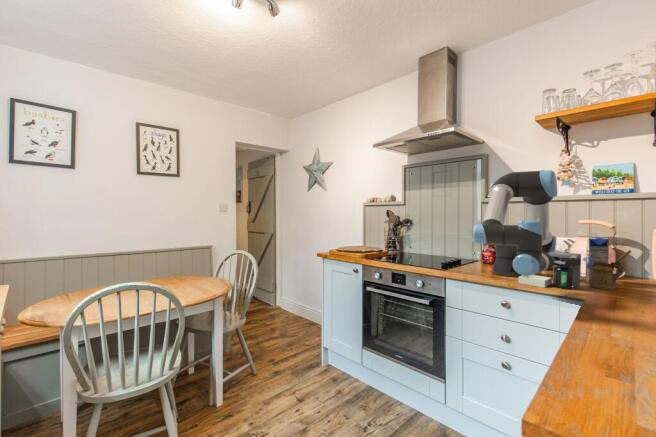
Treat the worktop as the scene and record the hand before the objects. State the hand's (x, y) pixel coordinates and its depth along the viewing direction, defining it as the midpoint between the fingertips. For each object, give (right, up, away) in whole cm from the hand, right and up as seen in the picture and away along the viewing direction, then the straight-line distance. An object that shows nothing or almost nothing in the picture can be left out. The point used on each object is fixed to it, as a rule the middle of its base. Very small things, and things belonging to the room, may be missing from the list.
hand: (554, 257), depth 127 cm
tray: (+3, -15, +17) cm, 23 cm away
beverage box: (+35, -15, +20) cm, 43 cm away
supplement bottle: (+11, -15, +10) cm, 21 cm away
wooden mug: (+31, -15, +9) cm, 36 cm away
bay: (+12, -15, +10) cm, 22 cm away
